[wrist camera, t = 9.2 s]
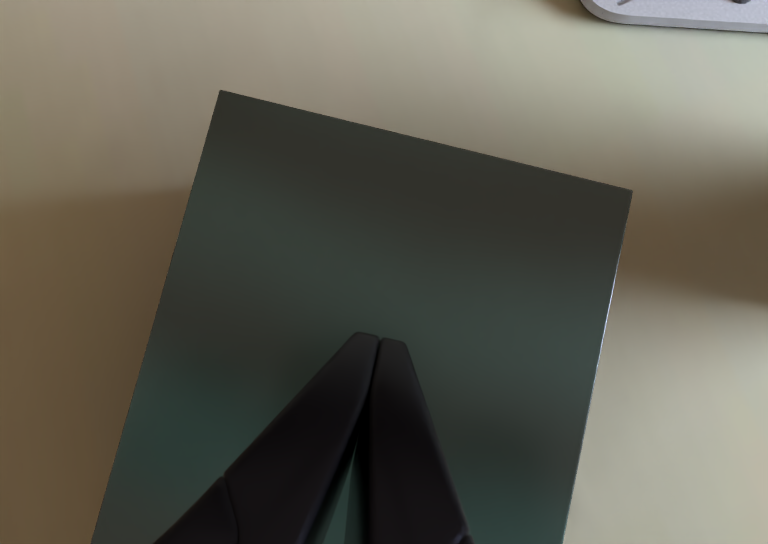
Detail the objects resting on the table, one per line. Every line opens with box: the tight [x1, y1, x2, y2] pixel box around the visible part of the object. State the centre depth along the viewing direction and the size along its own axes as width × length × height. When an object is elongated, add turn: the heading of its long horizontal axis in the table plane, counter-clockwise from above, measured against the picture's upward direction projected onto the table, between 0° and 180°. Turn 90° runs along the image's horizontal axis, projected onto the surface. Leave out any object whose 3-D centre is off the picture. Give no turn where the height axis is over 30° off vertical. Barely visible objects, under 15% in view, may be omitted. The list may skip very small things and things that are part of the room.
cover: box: [91, 90, 633, 544], centre depth 14 cm, size 14×11×1 cm
